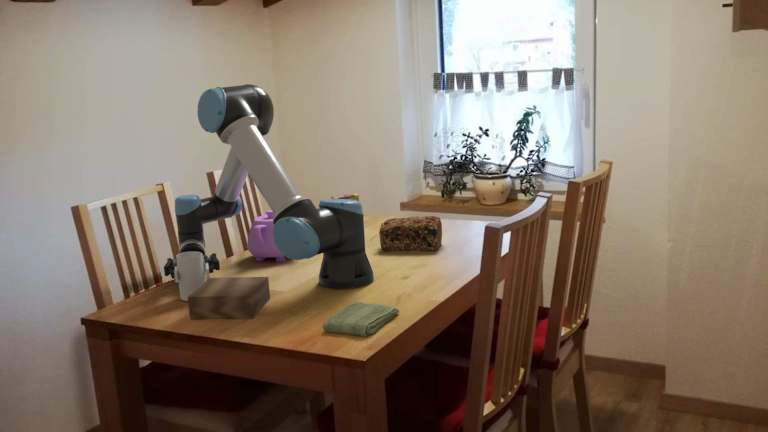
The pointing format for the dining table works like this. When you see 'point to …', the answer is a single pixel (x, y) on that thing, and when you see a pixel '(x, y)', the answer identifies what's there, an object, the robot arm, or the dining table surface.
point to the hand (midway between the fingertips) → (192, 275)
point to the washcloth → (360, 319)
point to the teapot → (263, 239)
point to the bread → (411, 234)
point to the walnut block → (229, 298)
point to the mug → (190, 272)
